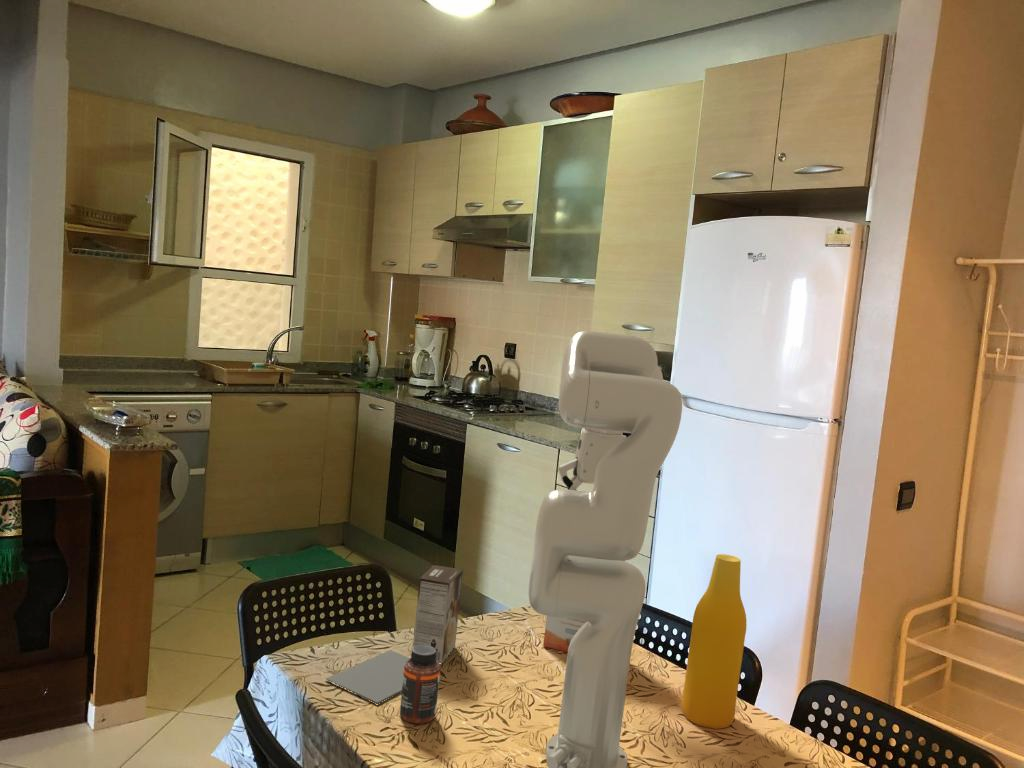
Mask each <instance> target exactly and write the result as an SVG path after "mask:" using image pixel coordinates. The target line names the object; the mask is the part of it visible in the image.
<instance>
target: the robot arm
mask: <svg viewBox="0 0 1024 768" xmlns="http://www.w3.org/2000/svg"><path fill="white" fill-rule="evenodd" d="M658 363H659V362H658V355H657V352H656V350H655V348H654V347H653V345H652V344H650V342H649V341H647V340H645V339H643V338H641V337H638V336H634V335H628V334H621V333H610V332H602V331H594V330H593V331H592V330H583V331H579V332H577V333H575V334H574V335H573V336H572V337H571V338H570V339H569V341H568V344H567V346H566V347H565V351H564V355H563V359H562V365H561V373H560V374H561V376H560V386H559V395H558V409H559V414H560V417H561V419H562V420H563V422H564V423H566V424H567V425H569V426H571V427H576V428H581V429H584V430H582V431H581V434H580V436H579V440H578V442H577V447H576V451H575V455H574V459H572V460H570V461H567V462H565V463H563V464H561V465H558V467H557V471H558V474H559V477H560V480H561V481H562V483H564V485H565V486H566V488H567V489H554V490H552V491H550V492H548V493H547V494H546V496H545V497H544V498H543V500H542V501H541V505H540V508H539V510H538V515H537V520H536V527H535V533H534V540H533V541H534V543H533V549H532V558H531V565H530V572H529V581H528V601H529V605H530V607H531V608H532V610H533V611H535V612H536V613H537V614H539V615H541V616H546V617H547V616H552V617H559V618H567V619H575V620H582V621H586V623H585V624H584V625H583V626H582V627H581V628H580V629H579V630H578V631H577V632H576V634H575V635H574V637H573V638H572V640H571V642H570V645H569V649H568V652H567V657H566V664H565V665H566V666H565V673H564V681H563V688H562V689H563V690H562V698H561V706H560V712H559V723H558V729H557V730H558V731H557V734H555V735H553V736H552V737H550V738H549V739H548V740H547V743H546V746H545V748H546V749H545V756H546V766H547V767H548V768H628V763H629V761H628V755H627V754H626V752H625V750H624V748H622V747H621V746H620V741H621V736H622V735H621V734H622V727H623V717H624V710H625V703H626V697H627V688H628V681H629V680H628V679H629V672H630V664H631V658H632V649H633V644H634V639H635V633H636V628H637V624H638V621H639V617H640V614H641V611H642V607H643V604H644V602H645V601H644V600H645V596H646V581H645V577H644V575H643V572H642V571H641V570H640V569H639V568H638V567H637V566H636V565H633V564H631V563H629V562H627V561H630V560H633V559H634V558H635V559H636V557H637V556H638V555H639V554H640V552H641V551H642V547H643V545H644V542H645V538H646V534H647V527H648V523H649V517H650V510H651V505H652V500H653V494H654V489H655V488H654V487H655V484H656V483H655V482H656V479H657V476H658V474H659V471H660V470H661V468H662V466H663V464H664V462H665V460H666V458H667V456H669V453H670V451H671V450H672V447H673V445H674V443H675V440H676V438H677V434H678V431H679V429H680V426H681V425H680V424H681V421H682V420H681V419H682V413H683V399H682V394H681V392H680V391H679V389H678V388H677V387H676V386H675V385H674V384H672V383H670V382H668V381H665V380H664V377H663V372H662V370H661V367H660V366H659V365H658ZM623 433H624V434H626V433H627V434H630V435H628V436H627V435H624V434H623ZM570 470H572V475H573V476H572V477H571V478H569V476H568V471H570ZM582 484H590V485H591V484H592V485H593V489H592V491H584V490H577V489H578V488H579V487H580V486H581V485H582ZM624 560H625V562H624Z"/></svg>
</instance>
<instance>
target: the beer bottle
mask: <svg viewBox="0 0 1024 768" xmlns="http://www.w3.org/2000/svg"><path fill="white" fill-rule="evenodd" d="M746 633H747V614H746V610H745V607H744V604H743V601H742V598H741V559H740V558H739V557H736V556H734V555H730V554H724V553H723V554H722V553H721V554H716V555H715V560H714V563H713V568H712V571H711V576H710V579H709V583H708V585H707V589H706V591H705V592H704V594H702V597H701V598H700V599H699V600H698V603H697V604H696V606H695V609H694V613H693V618H692V625H691V634H690V638H689V639H690V641H689V647H688V655H687V664H686V670H685V679H684V686H683V692H682V696H681V697H682V698H681V706H680V707H681V712H682V714H683V716H684V717H685V718H686V719H688V720H689V721H690V722H692V723H694V724H695V725H698V726H701V727H705V728H709V729H714V730H715V729H716V730H717V729H724V728H728V727H729V726H731V724H733V722H734V719H735V715H736V705H737V697H738V691H739V683H740V676H741V667H742V662H743V654H744V646H745V639H746Z"/></svg>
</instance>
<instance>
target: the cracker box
mask: <svg viewBox="0 0 1024 768" xmlns="http://www.w3.org/2000/svg"><path fill="white" fill-rule="evenodd" d="M624 562H626V560H624ZM585 623H586V621H582V620H575V619H567V618H559V617H552V616H546V620H545V627H544V629H545V630H544V636H543V644H542V646H543V647H545V648H549V649H555V650H558V651H562V652H566V653H568V649H569V645H570V642H571V640H572V638H573V637H574V635H575V634H576V632H577V631H578V630H579V629H580V628H581V627H582V626H583V625H584V624H585Z"/></svg>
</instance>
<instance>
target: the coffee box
mask: <svg viewBox="0 0 1024 768" xmlns="http://www.w3.org/2000/svg"><path fill="white" fill-rule="evenodd" d="M463 573H464V569H462V568H461V569H460V568H455V567H454V568H453V567H448V566H443V565H434V564H433V565H432V566H431V567H430V568H429V569H427V571H426V572H425V573H424V574H423V575H421V576H420V577H419V582H418V590H417V591H418V593H417V601H416V603H417V604H416V610H415V611H416V612H415V620H414V622H415V623H414V633H413V642H412V648H413V647H415V646H418V645H428V646H432V647H433V648H435V649H436V658H435V659H436V661H438V663H443V664H444V662H445V661H446V660H447V659H448V657H449V656H450V654H451V653H452V651H453V650H454V649H453V648H456V643H457V639H456V638H457V631H458V623H459V622H458V621H459V613H460V612H459V611H460V604H461V603H460V602H461V593H462V592H461V591H462V583H463ZM450 652H451V653H450ZM448 655H449V656H448ZM445 659H446V660H445Z"/></svg>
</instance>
